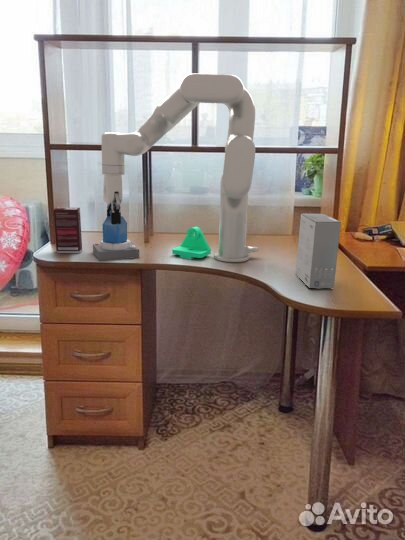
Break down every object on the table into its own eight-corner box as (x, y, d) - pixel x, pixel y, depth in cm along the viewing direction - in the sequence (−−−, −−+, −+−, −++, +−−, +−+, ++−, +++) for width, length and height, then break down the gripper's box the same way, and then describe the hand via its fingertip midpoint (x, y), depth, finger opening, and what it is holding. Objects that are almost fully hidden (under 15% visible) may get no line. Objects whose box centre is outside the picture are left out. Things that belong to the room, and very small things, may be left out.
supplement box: (82, 250, 176) (80, 207, 172) (80, 253, 172) (78, 209, 167) (58, 250, 176) (56, 206, 171) (55, 253, 171) (52, 208, 167)
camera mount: (171, 256, 172) (171, 228, 169) (182, 252, 179) (182, 224, 176) (200, 261, 167) (201, 232, 164) (210, 256, 173) (211, 228, 170)
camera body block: (131, 249, 179) (130, 236, 178) (139, 257, 169) (139, 243, 167) (93, 252, 174) (92, 238, 173) (99, 260, 163) (98, 246, 162)
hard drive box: (334, 290, 139) (342, 222, 133) (308, 290, 138) (315, 221, 133) (318, 274, 154) (324, 212, 148) (294, 274, 153) (299, 212, 148)
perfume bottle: (112, 238, 174) (111, 205, 170) (127, 240, 172) (126, 206, 168) (103, 241, 168) (102, 207, 165) (118, 243, 166) (118, 209, 163)
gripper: (97, 167, 169) (98, 218, 174) (107, 172, 154) (108, 227, 159) (118, 168, 172) (119, 217, 177) (130, 172, 157) (130, 226, 162)
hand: (113, 221), depth 168 cm, fingers open, 6 cm apart
